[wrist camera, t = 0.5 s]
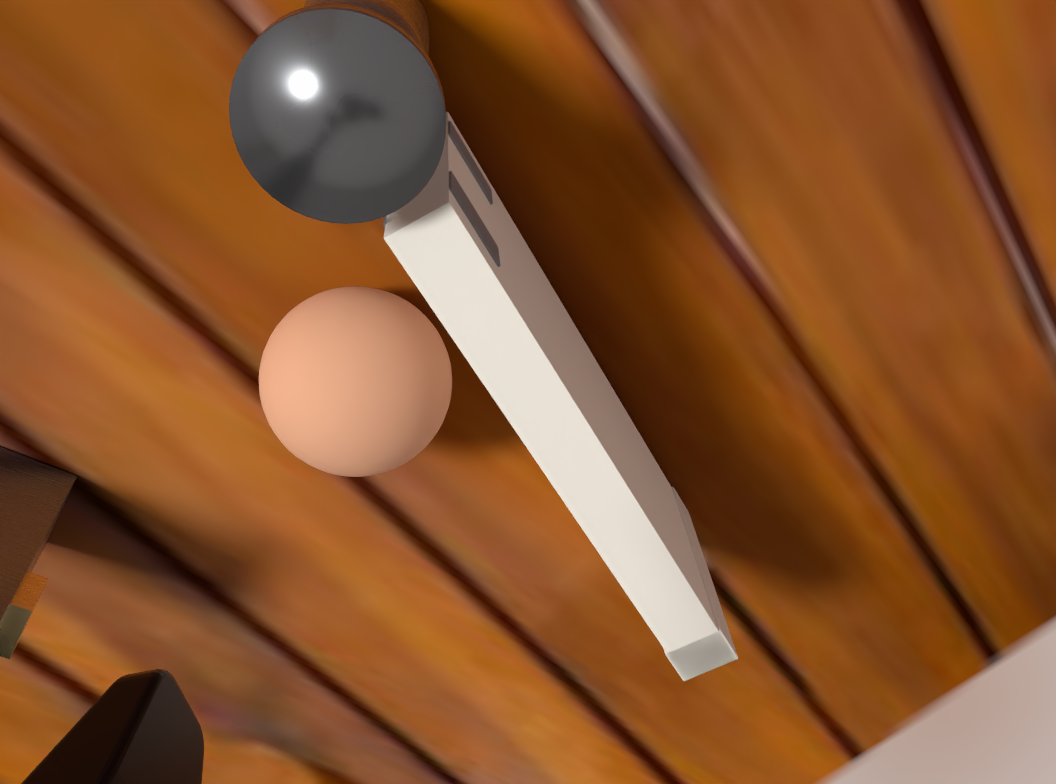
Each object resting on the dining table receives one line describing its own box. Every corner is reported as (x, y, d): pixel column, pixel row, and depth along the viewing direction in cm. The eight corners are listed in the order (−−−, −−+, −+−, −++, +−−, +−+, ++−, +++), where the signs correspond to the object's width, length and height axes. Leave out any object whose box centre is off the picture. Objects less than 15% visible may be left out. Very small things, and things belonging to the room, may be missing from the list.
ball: (401, 434, 24) (394, 542, 20) (245, 365, 22) (210, 468, 19) (483, 305, 22) (490, 400, 19) (320, 223, 21) (296, 308, 17)
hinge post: (400, 137, 20) (385, 257, 15) (262, 60, 19) (196, 161, 14) (473, 3, 19) (485, 84, 14) (329, -86, 18) (283, -36, 13)
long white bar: (394, 142, 20) (380, 240, 15) (450, 110, 19) (452, 200, 15) (643, 533, 26) (683, 681, 21) (688, 512, 25) (738, 658, 21)
